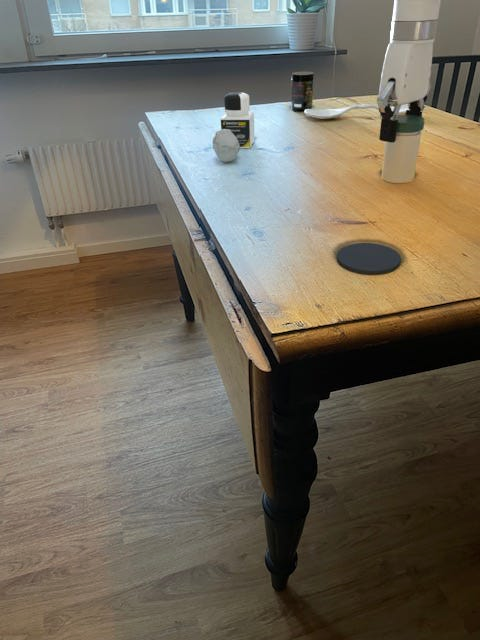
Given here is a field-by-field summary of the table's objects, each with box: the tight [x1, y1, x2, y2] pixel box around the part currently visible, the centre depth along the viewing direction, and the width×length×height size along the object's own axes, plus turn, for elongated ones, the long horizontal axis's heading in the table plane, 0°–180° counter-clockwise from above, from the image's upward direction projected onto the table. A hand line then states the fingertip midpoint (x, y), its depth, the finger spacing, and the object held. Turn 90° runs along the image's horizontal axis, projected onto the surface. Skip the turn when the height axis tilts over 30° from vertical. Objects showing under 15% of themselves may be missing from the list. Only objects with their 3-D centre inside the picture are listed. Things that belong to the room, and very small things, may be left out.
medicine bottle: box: [220, 91, 255, 149], centre depth 123 cm, size 7×7×12 cm
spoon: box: [304, 103, 409, 120], centre depth 145 cm, size 9×32×4 cm, turn 89°
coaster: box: [336, 242, 402, 276], centre depth 72 cm, size 9×9×1 cm
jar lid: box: [396, 114, 425, 133], centre depth 95 cm, size 7×7×2 cm
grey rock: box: [212, 128, 240, 163], centre depth 113 cm, size 6×7×7 cm
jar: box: [380, 130, 422, 184], centre depth 98 cm, size 6×6×10 cm
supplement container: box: [290, 71, 315, 113], centre depth 155 cm, size 7×7×10 cm
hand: (399, 136), depth 97 cm, fingers open, 7 cm apart
